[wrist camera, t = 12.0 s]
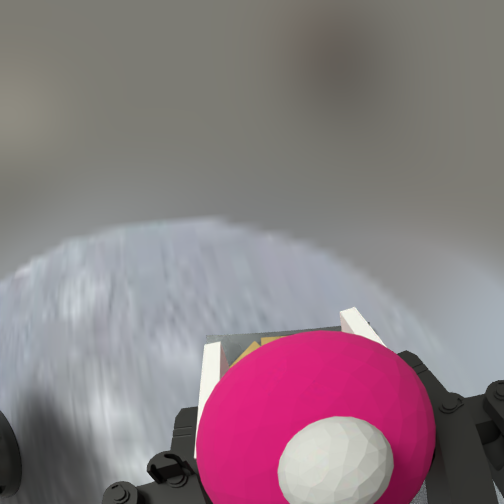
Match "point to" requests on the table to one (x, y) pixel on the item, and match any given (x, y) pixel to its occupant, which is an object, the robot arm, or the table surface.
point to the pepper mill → (316, 425)
